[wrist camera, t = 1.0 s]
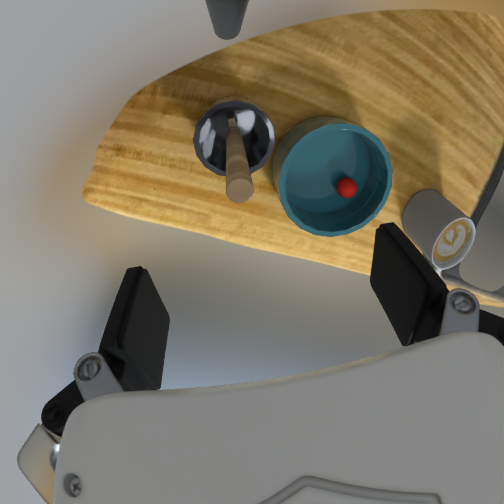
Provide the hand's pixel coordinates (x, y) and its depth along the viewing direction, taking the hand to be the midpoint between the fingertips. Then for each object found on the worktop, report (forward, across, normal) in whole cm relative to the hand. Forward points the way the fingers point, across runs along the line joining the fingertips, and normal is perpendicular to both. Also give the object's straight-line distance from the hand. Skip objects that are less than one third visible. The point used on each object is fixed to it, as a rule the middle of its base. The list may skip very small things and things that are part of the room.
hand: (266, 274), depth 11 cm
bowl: (+29, -11, +7) cm, 32 cm away
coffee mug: (+29, -30, +19) cm, 46 cm away
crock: (+29, +1, -1) cm, 29 cm away
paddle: (+29, +1, -1) cm, 29 cm away
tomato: (+27, -14, +10) cm, 32 cm away
